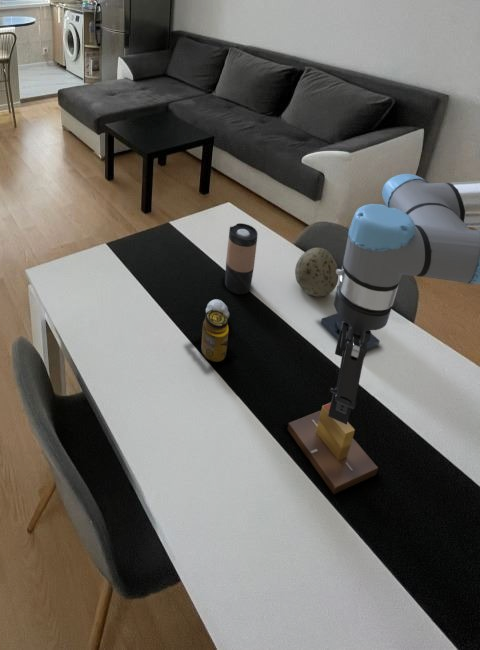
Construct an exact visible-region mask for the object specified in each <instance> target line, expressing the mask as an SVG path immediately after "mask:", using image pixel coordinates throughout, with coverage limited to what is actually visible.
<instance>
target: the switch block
mask: <svg viewBox="0 0 480 650" xmlns="http://www.w3.org/2000/svg"><path fill="white" fill-rule="evenodd" d="M342 321H343V318H342V317H341V316H340V315H339V314H338V313H337V312H336V313H335V314H332V315H328V316H325V317H323V318H321V320H320V325H321V326H322V327H323V328H324V329H325V330H326V331H327V332H328V333H329V334H330V335H331V336H332V337H333V338H334V339H335V340H336V341H338V338H339V334H340V330H341V327H342ZM379 345H380V339H379V338H377V337H376V336H375V335H374V334H373V333H372V332H371V336H370V340H369V341H368V342H367V348H366V350H367V351H370V350H372V349H375V348H377V347H379ZM361 346H362V345H361Z"/></svg>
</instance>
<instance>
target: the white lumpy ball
mask: <svg viewBox="0 0 480 650" xmlns="http://www.w3.org/2000/svg"><path fill="white" fill-rule="evenodd" d="M210 310H219V311H221V312H223V313H224V314H225V315H226V316H227V319H228V320H229V318H230V312H229V309H228V306H227V305H226V304H225V302H223V301H222V300H221V299H217V298H216V299H215V298H214V299H212V300H210V301H209V302H208V303H207V305H206V308H205V314H206V313H207V312H208V311H210Z"/></svg>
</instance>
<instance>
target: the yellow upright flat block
mask: <svg viewBox="0 0 480 650" xmlns="http://www.w3.org/2000/svg"><path fill="white" fill-rule="evenodd" d="M330 405H331V402H328V403H326V404H323V405H322V406H321V409H320V410H321V414H320V418H319V422H318V426H317V430H316V433H317V434H318V435H319V436H320V438H321V439H322V440H323V442H324V443H325V444H326V445H327V447H328V448H329V449H330V451H331V452H332V453H333V455H334V456H335V457H336V458H337V460H338V461H339V460H341V459H343V458H346V457H347V456H348V453H349V449H350V446H351V442H352V439H354V435H355V431H356V429H355V428H354V427H353V426H352V425H351V424H350V422H349V421H348V422H347V425H346V424H344V423H342V422H340V421H338V420H335V419H333V418H331V417H329V416H328V413H329V409H330Z"/></svg>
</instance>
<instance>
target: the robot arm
mask: <svg viewBox="0 0 480 650" xmlns="http://www.w3.org/2000/svg"><path fill="white" fill-rule="evenodd" d="M381 196H382V200H383V201H384V203H385V204H380V203H369V204H365V205H364V204H363V205H362V206H360V207H358V208H357V209H356V211H355V213H354V215H353V217H352V220H351V223H350V226H349V228H348V232H347V235H348V236H347V240H346V244H345V245H346V246H345V250H344V255H343V259H342V265H341V268H338V269H337V270H336V274H337V275H338V276H339V277H338V283H337V285H336V288H335V294H334V297H333V308H334V309H335V311H336V314H337V313H338V314H339V315H340V316H341V317H342V318H343V321H342V327H341V330H340V334H339V338H338V340H337V342H336V346H335V351H334V355H336V356H339V357H341V360H340V366H339V371H338V377H337V384H336V385H335V386H334V387H330V393H331V394H332V397H331V400H330V403H331V405H330V409H329V413H328V416H329V417H331V418H333V419H335V420H338V421H340V422H342V423H344V424H346V425H347V422H348V423H349V419H350V415H351V411H352V410H355V408H356V400H357V395H358V390H359V384H360V380H361V376H362V375H361V374H362V370H363V364H364V360H365V357H366V355H367V352H368V350H366V348H367V342H368V341H369V340H370V336H371V333H372V331H378V330H381V329H383V328H385V327H386V326H387V324H388V321H389V318H390V315H391V311H392V307H393V305H394V303H395V299H396V295H397V292H398V289H399V286H400V281H401V278H402V276H403V275H405V276H412V277H413V276H414V277H419V278H421V277H422V278H429V279H435V280H444V281H451V282H456V283H465V284H467V285H474V284H475V285H480V229H470V228H480V180H475V181H474V180H471V181H451V182H431V183H430V182H429V181H428V180H425V178H422V177H421V176H419V175H416V174H412V173H402V174H397V175H395V176H393V177H391V178H389V179H388V180H387V181H386V182H385V183H384V184H383V186H382V191H381ZM361 345H362V346H361Z"/></svg>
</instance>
